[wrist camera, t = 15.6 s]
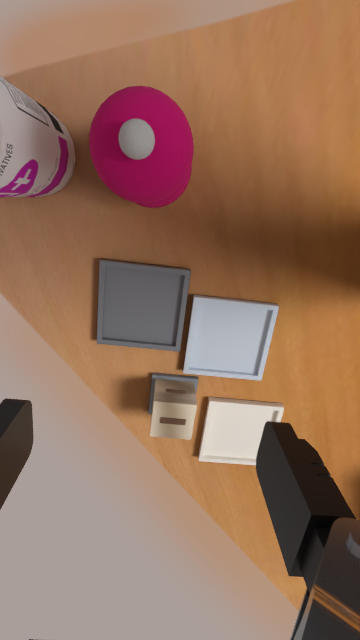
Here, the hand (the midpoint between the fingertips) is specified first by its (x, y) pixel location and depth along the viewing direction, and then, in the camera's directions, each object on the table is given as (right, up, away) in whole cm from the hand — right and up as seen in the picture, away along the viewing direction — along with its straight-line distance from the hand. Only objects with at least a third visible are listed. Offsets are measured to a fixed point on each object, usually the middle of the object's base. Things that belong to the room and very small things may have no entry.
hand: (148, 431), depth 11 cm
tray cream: (+9, -12, +35) cm, 38 cm away
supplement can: (-13, +21, +22) cm, 33 cm away
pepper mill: (-2, +20, +23) cm, 30 cm away
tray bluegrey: (+7, +2, +30) cm, 31 cm away
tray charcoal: (-3, +6, +28) cm, 29 cm away
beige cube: (0, -6, +32) cm, 32 cm away
